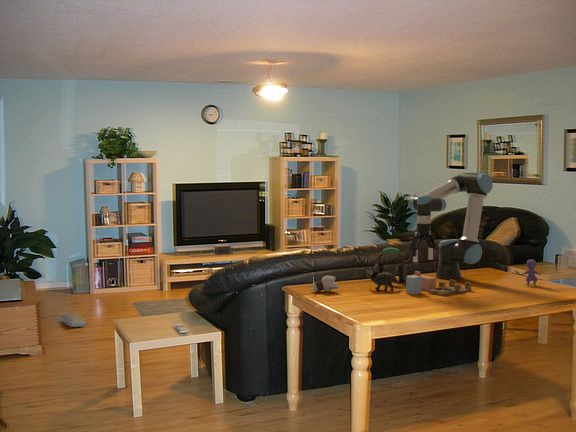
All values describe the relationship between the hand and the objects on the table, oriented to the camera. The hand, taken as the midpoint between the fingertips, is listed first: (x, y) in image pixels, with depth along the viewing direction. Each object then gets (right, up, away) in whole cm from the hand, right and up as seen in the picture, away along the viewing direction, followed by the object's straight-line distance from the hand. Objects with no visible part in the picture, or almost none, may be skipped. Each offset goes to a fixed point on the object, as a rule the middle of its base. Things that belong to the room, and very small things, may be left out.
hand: (423, 260), depth 368 cm
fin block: (-7, -17, -10) cm, 21 cm away
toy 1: (-55, -17, -6) cm, 58 cm away
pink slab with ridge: (+1, -16, +2) cm, 16 cm away
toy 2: (+63, -15, +8) cm, 65 cm away
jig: (+13, -16, -8) cm, 22 cm away
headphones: (-14, -14, +23) cm, 31 cm away
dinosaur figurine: (-22, -16, -2) cm, 27 cm away
